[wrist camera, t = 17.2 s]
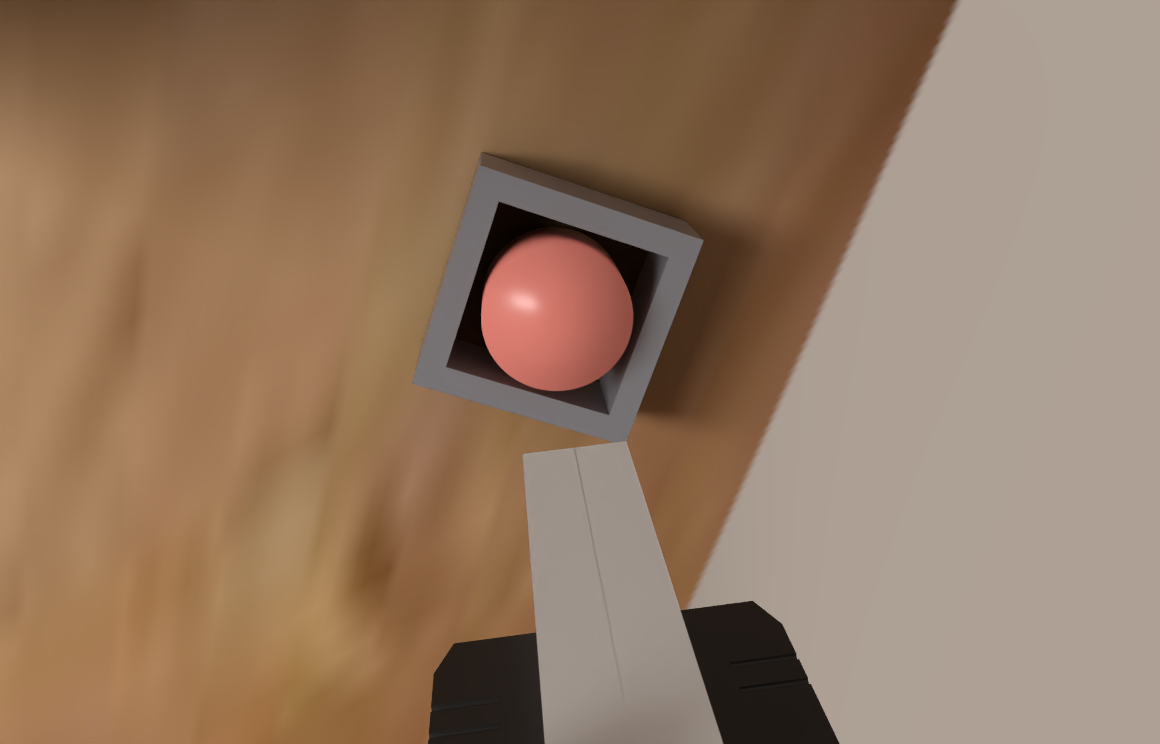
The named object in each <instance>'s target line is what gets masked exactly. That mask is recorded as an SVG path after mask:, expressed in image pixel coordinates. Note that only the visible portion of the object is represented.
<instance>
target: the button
mask: <svg viewBox="0 0 1160 744" xmlns="http://www.w3.org/2000/svg"><path fill="white" fill-rule="evenodd" d="M481 326H482V332H483V337H484V340H485V343H486V346H487V348H488V350H489V352H490V354H491V355H492V357H493V359H494V360H495V362H496V363H497V364H498V365H499V366H500V367H501V369H503V370H504V371H505V372H506V373H507V374H508V375H510V376H511V377H512V378H514V379H515V380H517V381H519V382H521V383H523V384H525V385H527V386H530V387H533V388H537V389H541V390H548V391H565V390H572V389H576V388H579V387H582V386H585V385H587V384H590V383H592V382H594V381H595V380H597V379H599V378H600V377H602V376H603V375H604V374H606V373H607V372H608V371H609V370H610V369H611V368H612V367H613V366H614V365H615V364H616V363H617V361H618V360H619V359H620V358H621V356H622V354H623V353H624V351H625V349H626V347H627V345H628V342H629V339H630V336H631V333H632V327H633V306H632V301H631V297H630V294H629V291H628V289H627V286H626V284H625V282H624V280H623V278H622V276H621V274H620V272H619V270H618V268H617V266H616V264H615V263H614V261H613V259H612V257H611V256H610V255H609V254H608V252H607V251H606V250H605V249H604V248H603V247H602V246H601V245H600V244H599V243H597V242H596V241H595V240H593V239H592V238H590V237H588V236H587V235H585V234H583V233H580V232H578V231H575V230H571V229H567V228H559V227H548V228H541V229H536V230H532V231H529V232H527V233H524V234H522V235H520V236H518V237H517V238H515V239H513V240H512V241H510V242H509V243H508V244H507V245H505V246H504V247H503V248H502V249H501V250H500V251H499V253H498V254H497V255H496V257H495V258H494V259H493V261H492V263H491V264H490V266H489V268H488V271H487V273H486V276H485V280H484V284H483V291H482V309H481Z"/></svg>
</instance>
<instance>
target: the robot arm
mask: <svg viewBox="0 0 1160 744" xmlns="http://www.w3.org/2000/svg"><path fill="white" fill-rule="evenodd" d="M523 466H524V479H525V492H526V505H527V518H528V531H529V544H530V557H531V570H532V583H533V596H534V609H535V622H536V633H530V634H522V635H515V636H507V637H500V638H492V639H485V640H477V641H470V642H462V643H455V644H453V646H452V647H451V649H450V650H449V652H448V653H447V655H446V656H445V658H444V659H443V661H442V662H441V664H440V665H439V667H438V668H437V670H436V671H435V673H434V679H433V691H432V703H431V708H432V712H431V715H430V727H429V740H428V744H839V742H838V740H837V738H836V736H835V733H834V731H833V729H832V727H831V725H830V723H829V721H828V719H827V717H826V715H825V713H824V711H823V709H822V706H821V704H820V702H819V700H818V698H817V696H816V694H815V692H814V690H813V688H812V686H811V684H809V682H808V677H807V675H806V673H805V671H804V669H803V667H802V665H801V663H800V660H799V659H797V657H796V652H795V650H794V648H793V646H792V644H791V642H790V640H789V638H788V636H787V633H786V631H785V629H784V627H783V625H782V624H781V623H780V622H779V621H777V620H776V619H775V618H774V617H772V616H771V615H770V614H768V613H767V612H766V611H765V610H763V609H762V608H761V607H760V606H758V605H757V604H756V603H754V602H753V601H749V602H741V603H734V604H726V605H718V606H711V607H703V608H695V609H688V610H680V607H679V604H678V601H677V598H676V595H675V592H674V589H673V586H672V583H671V579H670V576H669V573H668V570H667V567H666V564H665V561H664V558H663V554H662V551H661V548H660V545H659V542H658V539H657V536H656V533H655V530H654V526H653V523H652V520H651V517H650V514H649V511H648V508H647V505H646V502H645V498H644V495H643V492H642V489H641V486H640V483H639V480H638V477H637V473H636V470H635V467H634V464H633V461H632V458H631V455H630V452H629V449H628V445H627V442H626V441H624V442H616V443H608V444H600V445H592V446H584V447H576V448H568V449H560V450H552V451H544V452H535V453H527V454H523Z"/></svg>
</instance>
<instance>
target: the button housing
mask: <svg viewBox="0 0 1160 744" xmlns="http://www.w3.org/2000/svg"><path fill="white" fill-rule="evenodd" d="M499 202H502V203H505V204H508V205H511V206H514V207H517V208H520V209H523V210H526V211H529V212H532V213H535V214H538V215H541V216H544V217H547V218H550V219H553V220H556V221H559V222H562V223H565V224H568V225H572V226H575V227H578V228H581V229H584V230H587V231H590V232H593V233H596V234H599V235H602V236H605V237H608V238H611V239H614V240H617V241H620V242H623V243H626V244H629V245H632V246H635V247H638V248H641V249H644V250H647V251H648V253H647V256H646V259H645V261H644V264H643V267H642V269H641V272H640V275H639V277H638V280H637V283H636V286H635V288H634V291H633V294H632V296H631V301H632V306H633V327H632V333H631V336H630V339H629V342H628V345H627V347H626V349H625V351H624V353H623V354H622V356H621V358H620V359H619V360H618V361H617V363H616V364H615V365H614V366H613V367H612V368H611V369H610V370H609V371H608V372H607V373H606V374H604V375H603V376H602V377H601V380H600V382H597V381H594V382H592V383H590V384H587V385H585V386H582V387H579V388H576V389H572V390H565V391H548V390H541V389H537V388H533V387H530V386H527V385H525V384H523V383H521V382H519V381H517V380H515V379H514V378H512V377H511V376H510V375H508V374H507V373H506V372H505V371H504V370H503V369H501V367H500V366H499V365H498V364H497V363H496V362H495V360H494V359H493V357H492V355H491V354H490V352H489V350H488V349H487V348H484V347H481V346H477V345H474V344H471V343H467V342H464V341H461V340H457V339H455V337H456V334H457V331H458V328H459V325H460V321H461V318H462V315H463V312H464V309H465V306H466V303H467V299H468V296H469V293H470V290H471V287H472V284H473V281H474V278H475V274H476V271H477V268H478V265H479V262H480V259H481V256H482V253H483V249H484V246H485V243H486V240H487V237H488V234H489V231H490V228H491V224H492V221H493V218H494V215H495V212H496V209H497V206H498V203H499ZM703 241H704V240H703V239H702V238H701V237H700V236H699V235H698V234H697V233H696V232H695V230H694V229H693V228H692V227H691V226H690V225H689V224H688V223H687V222H686V221H684V220H681V219H678V218H675V217H672V216H669V215H666V214H663V213H660V212H657V211H654V210H651V209H648V208H645V207H642V206H639V205H636V204H634V203H631V202H628V201H625V200H622V199H619V198H616V197H613V196H610V195H607V194H604V193H601V192H598V191H595V190H592V189H589V188H586V187H583V186H580V185H577V184H574V183H571V182H568V181H565V180H562V179H559V178H557V177H554V176H551V175H548V174H545V173H542V172H539V171H536V170H533V169H530V168H527V167H524V166H521V165H518V164H515V163H512V162H509V161H506V160H503V159H500V158H497V157H494V156H491V155H488V154H485V153H482V152H481V155H480V159H479V162H478V165H477V168H476V171H475V175H474V178H473V181H472V184H471V188H470V191H469V194H468V197H467V201H466V204H465V207H464V210H463V213H462V217H461V220H460V223H459V226H458V230H457V233H456V236H455V239H454V243H453V246H452V249H451V252H450V255H449V259H448V262H447V265H446V268H445V272H444V275H443V278H442V281H441V285H440V288H439V291H438V294H437V297H436V301H435V304H434V307H433V310H432V314H431V317H430V320H429V323H428V326H427V330H426V333H425V336H424V339H423V343H422V346H421V349H420V352H419V357H418V361H417V365H416V370H415V374H414V378H413V383H412V384H415V385H419V386H422V387H426V388H429V389H432V390H436V391H439V392H443V393H446V394H450V395H453V396H457V397H460V398H463V399H467V400H470V401H474V402H477V403H481V404H484V405H488V406H491V407H494V408H498V409H501V410H505V411H508V412H512V413H515V414H518V415H522V416H525V417H529V418H532V419H536V420H539V421H543V422H546V423H549V424H553V425H556V426H560V427H563V428H567V429H570V430H574V431H577V432H580V433H584V434H587V435H591V436H594V437H598V438H601V439H605V440H608V441H611V442H615V443H616V442H624V441H627V438H628V436H629V433H630V430H631V428H632V425H633V423H634V420H635V417H636V415H637V412H638V410H639V407H640V404H641V402H642V399H643V397H644V394H645V392H646V389H647V386H648V384H649V381H650V379H651V376H652V373H653V371H654V368H655V366H656V363H657V360H658V358H659V355H660V353H661V350H662V348H663V345H664V342H665V340H666V337H667V335H668V332H669V329H670V327H671V324H672V322H673V319H674V316H675V314H676V311H677V309H678V306H679V304H680V301H681V298H682V296H683V293H684V291H685V288H686V285H687V283H688V280H689V278H690V275H691V272H692V270H693V267H694V265H695V262H696V260H697V257H698V254H699V252H700V249H701V247H702V244H703Z"/></svg>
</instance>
